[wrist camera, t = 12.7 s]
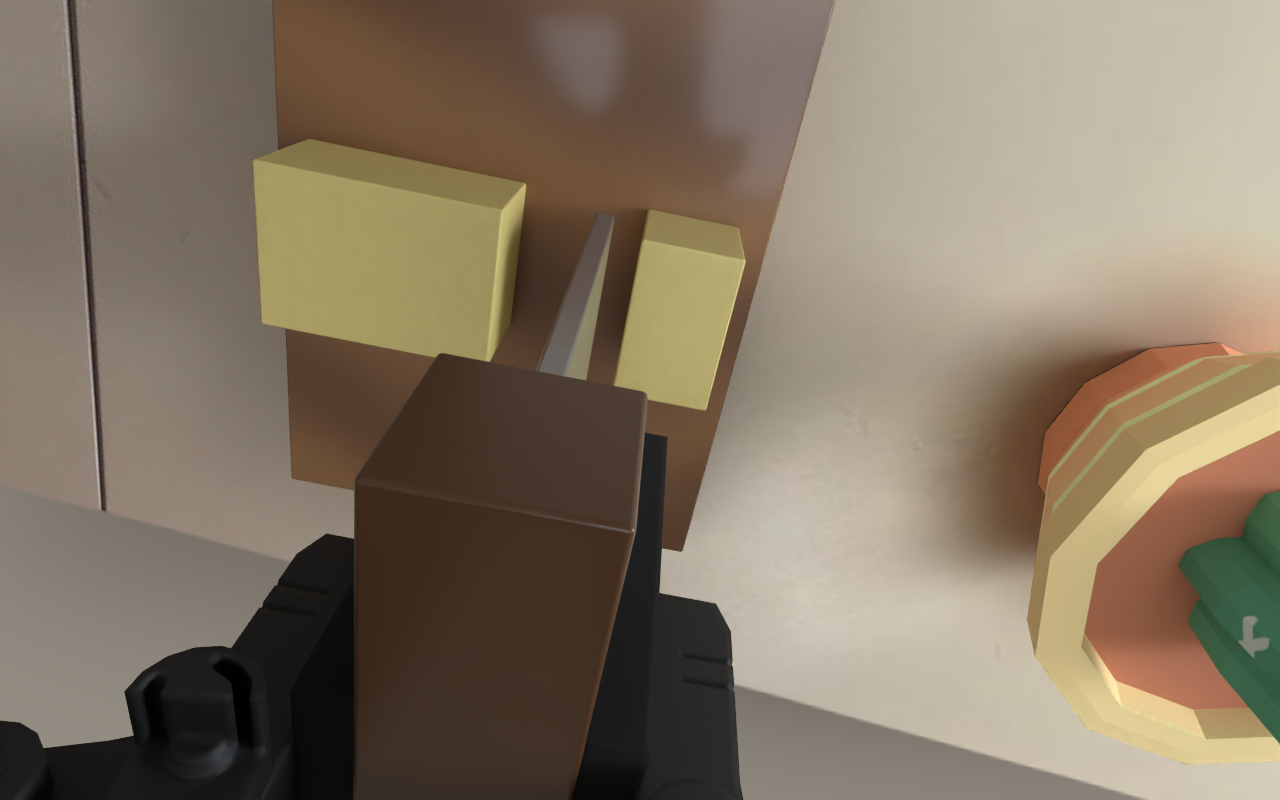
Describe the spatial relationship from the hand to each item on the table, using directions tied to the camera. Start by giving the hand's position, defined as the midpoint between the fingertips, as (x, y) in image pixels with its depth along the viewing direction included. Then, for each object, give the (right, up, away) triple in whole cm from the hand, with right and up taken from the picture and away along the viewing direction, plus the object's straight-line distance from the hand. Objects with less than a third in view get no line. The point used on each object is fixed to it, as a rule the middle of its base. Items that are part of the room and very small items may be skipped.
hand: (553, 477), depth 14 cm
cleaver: (0, +2, +4) cm, 4 cm away
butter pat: (+3, +5, +11) cm, 13 cm away
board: (-2, +7, +12) cm, 14 cm away
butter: (-6, +7, +11) cm, 14 cm away
